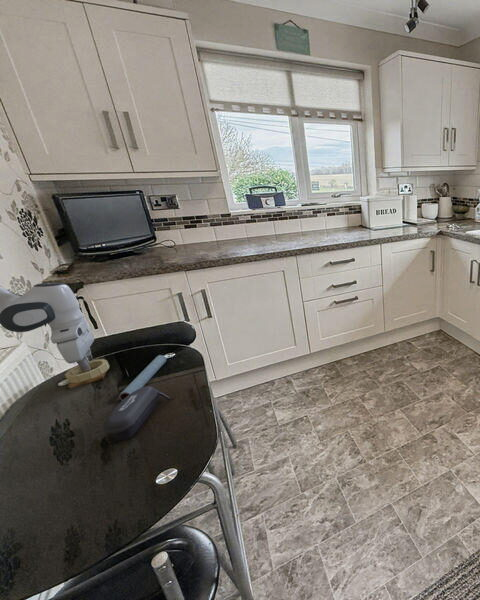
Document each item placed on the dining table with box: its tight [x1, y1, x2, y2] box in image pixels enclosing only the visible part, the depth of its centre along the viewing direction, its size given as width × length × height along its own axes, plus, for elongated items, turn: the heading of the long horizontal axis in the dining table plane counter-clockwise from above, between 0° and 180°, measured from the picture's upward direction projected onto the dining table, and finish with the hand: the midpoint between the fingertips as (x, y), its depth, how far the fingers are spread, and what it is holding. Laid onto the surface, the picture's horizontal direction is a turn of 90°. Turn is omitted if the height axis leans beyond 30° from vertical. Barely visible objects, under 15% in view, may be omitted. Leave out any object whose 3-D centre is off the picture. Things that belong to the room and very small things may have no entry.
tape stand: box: [67, 356, 108, 389], centre depth 111 cm, size 9×9×14 cm
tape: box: [64, 358, 110, 383], centre depth 113 cm, size 11×11×2 cm
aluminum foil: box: [118, 354, 168, 401], centre depth 108 cm, size 23×7×3 cm, turn 11°
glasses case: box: [103, 385, 171, 442], centre depth 89 cm, size 18×10×8 cm, turn 13°
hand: (88, 362), depth 116 cm, fingers closed
